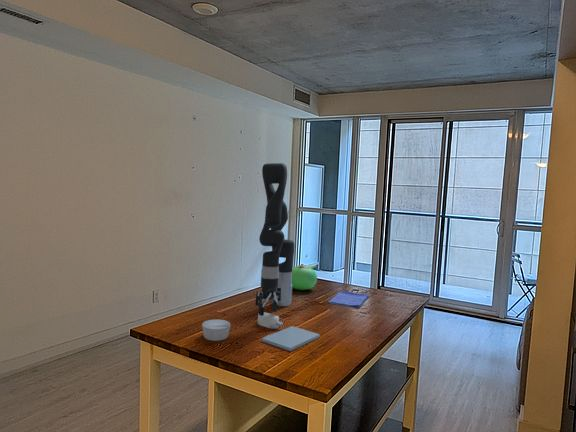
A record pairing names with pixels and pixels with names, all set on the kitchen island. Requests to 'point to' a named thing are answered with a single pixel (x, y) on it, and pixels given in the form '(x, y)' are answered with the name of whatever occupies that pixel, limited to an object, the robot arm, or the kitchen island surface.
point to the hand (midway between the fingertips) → (267, 313)
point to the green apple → (303, 277)
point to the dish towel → (349, 299)
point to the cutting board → (290, 338)
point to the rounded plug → (269, 321)
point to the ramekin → (216, 329)
